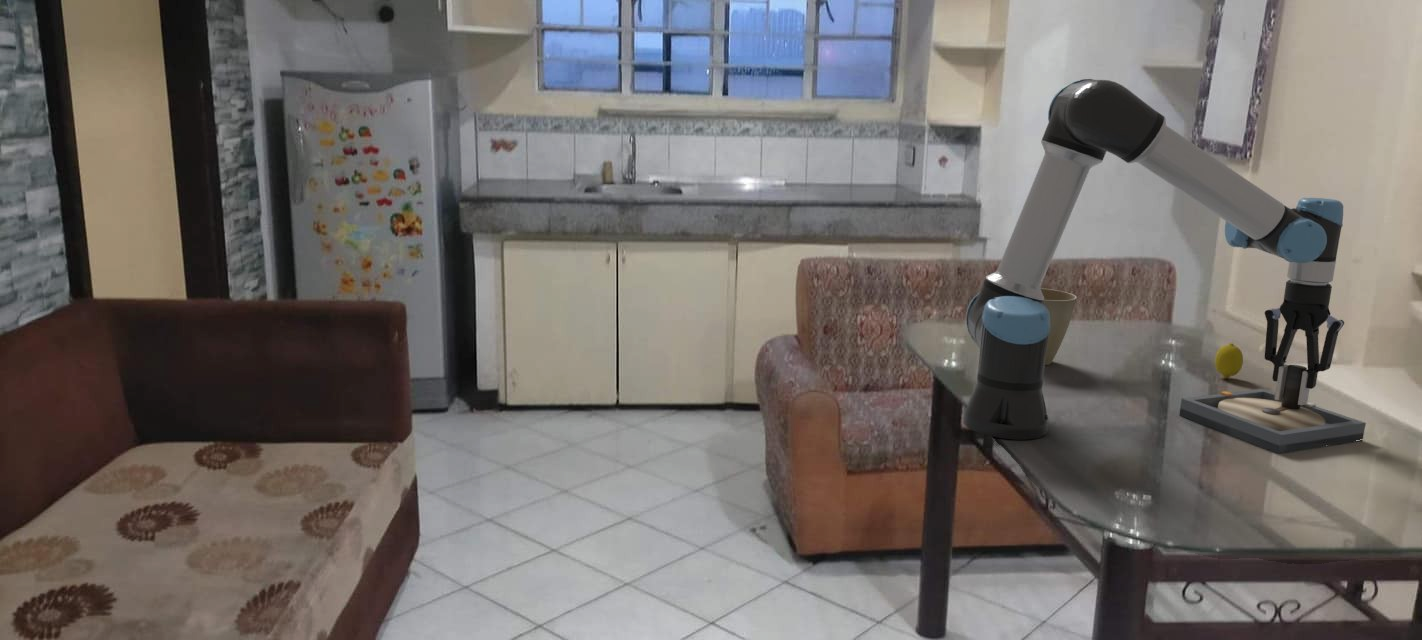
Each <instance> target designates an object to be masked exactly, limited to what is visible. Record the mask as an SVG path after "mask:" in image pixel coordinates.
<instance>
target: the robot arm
mask: <svg viewBox="0 0 1422 640" xmlns="http://www.w3.org/2000/svg"><path fill="white" fill-rule="evenodd" d="M1047 115H1048V116H1047V117H1048V123H1047V125H1046V127H1045V128H1046V129H1045V131H1044V133H1043V136H1042V139H1041V141H1040V142H1041V146H1042V148H1043V150H1044V156H1043V157H1042V161H1041V162H1040V165H1039V168H1038V169H1037V172H1036V175H1035V178H1034V180H1033V182H1032V185H1031V188H1030V189H1029V193H1028V195H1027V197H1026V200H1025V202H1024V204H1023V207H1022V209H1021V211H1020V214H1019V216H1018V219H1017V221H1016V224H1015V226H1014V228H1013V231H1012V233H1011V236H1010V239H1009V241H1008V244H1007V246H1006V248H1005V250H1004V253H1003V256H1002V258H1001V261H1000V262H999V265H998V267H997V270H996V271H995V272H992V273H991V274H987V275H986V276H985V279H984V281H983V283H982V285H981V288H980V290H979V292H978V293H977V294H976V295H974V297H973V298H972V299H971V301H970V302H969V304H968V306H967V310H966V314H965V317H966V318H965V321H966V328H967V331H968V334H969V335H970V338H971V339H972V340H973V342H974V343H975V344H976V345H977V346H978V348H979V355H978V366H977V377H976V383H975V386H974V389H973V390H972V393H971V395H970V398H969V401H968V402H967V403H968V404H967V405H966V406H965V408H964V410H963V418H962V419H963V420H962V421H963V424H964V426H966V428H968V429H969V430H972V431H974V432H976V433H978V434H981V435H985V436H988V437H993V438H996V439H997V438H998V439H1004V440H1021V441H1022V440H1023V441H1024V440H1033V439H1039V438H1042V437H1044V436H1046V435H1047V434H1048V431H1049V430H1048V429H1049V421H1050V420H1049V416H1048V414H1047V407H1046V402H1045V398H1044V392H1043V386H1044V385H1043V384H1044V378H1045V376H1044V375H1045V369H1046V365H1045V360H1046V352H1047V343H1048V334H1049V332H1050V314H1049V311H1048V309H1047V308H1046V307H1045V306H1044V305H1043V304H1042V302H1043V300H1044V296H1043V294H1042V291H1041V289H1040V288H1041V286H1042V283H1043V280H1044V278H1045V277H1046V274H1047V272H1048V269H1049V267H1050V265H1051V262H1052V260H1053V257H1054V255H1055V252H1056V251H1057V248H1058V246H1059V243H1060V241H1061V238H1062V236H1063V234H1064V232H1065V229H1066V226H1067V224H1068V222H1069V220H1070V217H1071V215H1072V212H1073V210H1074V208H1075V205H1076V203H1077V201H1078V198H1079V195H1080V193H1081V191H1082V189H1083V186H1084V184H1085V181H1086V179H1087V177H1088V174H1089V172H1090V170H1091V168H1093V167H1096V166H1097V165H1099V164H1101V163H1103V160H1104V158H1105V156H1106V153H1107V152H1108V153H1110V154H1112V155H1113V156H1116V157H1118V158H1120V159H1121V160H1123V161H1124V162H1125V163H1127V164H1133V163H1138V164H1139V165H1141V166H1143V168H1144V169H1147V170H1148V171H1150V172H1151V173H1153V175H1154V174H1155V175H1156V176H1158V177H1159V178H1161V180H1163V181H1165V182H1166V183H1168V184H1169V185H1171V186H1172V187H1174V188H1175V189H1177V190H1178V191H1180V192H1182V193H1183V194H1184V195H1186V196H1187V197H1189V198H1190V199H1192V200H1193V201H1195V202H1196V203H1198V204H1200V206H1203V207H1205V208H1206V209H1207V210H1209V211H1210V212H1212V213H1213V214H1215V215H1217V216H1218V217H1219V218H1221V219H1222V220H1224V221H1225V224H1224V236H1225V240H1226V242H1227V244H1228V245H1229V246H1230V247H1233V248H1242V249H1257V250H1260V251H1263V252H1264V253H1268V254H1270V255H1273V256H1277V257H1279V258H1282V259H1283V260H1285V261H1287V262H1288V269H1287V273H1286V274H1287V275H1286V276H1287V278H1288V280H1286V283H1285V288H1284V295H1283V302H1282V303H1281V304H1280V306H1279V307H1277V308H1270V309H1266V310H1265V311H1264V316H1265V319H1266V333H1265V334H1266V335H1265V344H1264V345H1265V347H1264V360H1265V361H1269V362H1270V363H1271V364H1273V372H1272V382H1273V381H1274V382H1276V386H1275V387H1276V389H1275V392H1274V393H1275V399H1276V400H1280V399H1282V398H1283V392H1284V386H1285V380H1286V374H1287V368H1288V365H1289V364H1285V363H1287V359H1288V356H1289V352H1290V350H1291V348H1292V345H1293V341H1294V339H1295V335H1296V334H1297V332H1298V330H1301V331H1304V334H1305V335H1304V336H1305V338H1306V359H1307V360H1306V362H1307V370H1306V371H1303V374H1302V380H1301V387H1300V393H1299V400H1298V405H1304V404H1306V403H1307V402H1309V395H1310V390H1312V389H1315V387H1316V386H1317V381H1318V380H1317V379H1318V373H1320V372H1325V371H1327V370H1329V369H1330V368H1331V365H1332V361H1333V357H1334V353H1335V349H1336V344H1337V341H1338V336H1339V332H1340V330H1341V329H1342V328H1343V326H1344V325H1345V321H1344V320H1343V319H1337V318H1335V317H1334V316H1332V315H1331V311H1330V309H1329V308H1330V307H1329V306H1330V300H1331V294H1332V284H1330V283H1331V282H1333V280H1334V275H1335V269H1336V264H1337V255H1338V249H1339V244H1340V237H1341V232H1342V227H1343V226H1344V225H1343V219H1344V204H1343V203H1342V202H1341V201H1340V200H1337V199H1333V198H1323V197H1302V198H1300V199H1299V200H1298V201H1297V205H1296V207H1295V208H1290V207H1288V206H1286V205H1284V204H1283V203H1282V202H1280V201H1279V200H1277V198H1275V197H1273V196H1272V195H1270V193H1269V194H1268V193H1267V192H1266V191H1264V190H1263V189H1262V188H1260V187H1258V186H1257V185H1255V184H1254V183H1252V182H1251V181H1250V180H1248V179H1246V178H1245V177H1244V176H1242V175H1241V174H1239V173H1238V172H1236V171H1235V170H1233V169H1232V168H1231V167H1228V166H1227V165H1226V164H1224V163H1223V162H1221V161H1220V160H1218V159H1217V158H1215V156H1212V155H1211V154H1209V153H1208V152H1206V151H1204V150H1203V149H1202V148H1201V147H1199V146H1197V145H1196V144H1194V143H1193V142H1191V141H1190V140H1188V139H1187V138H1186V137H1184V136H1182V135H1181V134H1180V133H1179V132H1176V131H1175V130H1174V129H1172V128H1171V127H1169V126H1168V125H1167V123H1166V117H1165V115H1162V114H1161V113H1160V112H1158V111H1157V110H1155V108H1153V107H1152V106H1150V105H1148V103H1146V102H1145V101H1144V100H1142V99H1141V98H1139V97H1138V96H1137V95H1136V94H1135V93H1133V92H1132V91H1131V90H1130V89H1128V88H1127V87H1125V86H1124V85H1122V84H1120V83H1118V82H1116V81H1112V80H1107V79H1092V78H1084V79H1082V78H1081V79H1079V80H1075V81H1072V82H1071V83H1069V84H1066V85H1065V86H1064V87H1062V88H1061V89H1060V90H1059V91H1057V93H1056V94H1055V95H1054V97H1053V98H1052V100H1051V102H1050V105H1049V108H1048V114H1047ZM1281 316H1282V317H1283V319H1284V320H1285V323H1286V324H1285V327H1284V330H1283V335H1282V338H1281V341H1280V344H1279V347H1278V338H1279V337H1278V335H1279V323H1280V322H1279V321H1280V318H1281ZM1325 322H1326V323H1327V324H1326V328H1327V331H1326V335H1325V339H1324V343H1323V347H1322V351H1321V356H1320V352H1319V349H1320V348H1319V334H1320V327H1321V326H1322V325H1323V324H1324V323H1325ZM1277 348H1278V349H1277Z"/></svg>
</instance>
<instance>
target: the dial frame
mask: <svg viewBox="0 0 1422 640" xmlns="http://www.w3.org/2000/svg"><path fill="white" fill-rule="evenodd" d="M1230 398H1257V399H1266V400H1273V401H1279V402H1282V399H1280V400H1276V399H1275V392H1273V391H1270V390H1268V389H1264V388H1258V389H1257V388H1256V389H1250V390H1241V391H1232V392H1229V391H1227V390H1226V391H1220V393H1217V394H1216V393H1215V394H1207V395H1200V396H1191V397H1183V398H1181V402H1180V408H1179V414H1178V415H1179V417H1181V418H1184V419H1187V420H1190V421H1193V422H1195V423H1197V424H1199V425H1200V424H1201V425H1203V426H1205V427H1208V428H1210V429H1213V430H1215V431H1218V432H1221V433H1223V434H1226V435H1229V436H1231V437H1234V438H1237V439H1239V440H1241V441H1244V442H1246V443H1249V444H1252V445H1255V446H1257V447H1259V448H1262V449H1265V450H1267V451H1270V452H1273V453H1275V454H1277V455H1279V454H1286V453H1290V452H1291V453H1292V452H1293V453H1294V452H1298V451H1304V449H1306V450H1312V449H1318V448H1324V447H1323V446H1325V447H1327V446H1326V445H1332V446H1337V445H1344V444H1345V445H1346V444H1350V443H1351V444H1352V443H1355V442H1354V441H1356V440H1360V439H1363V440H1364V436H1365V435H1364V434H1365V429H1366V424H1367V423H1366V422H1365V421H1362V420H1358V419H1355V418H1352V417H1349V416H1346V415H1343V414H1340V413H1337V412H1334V411H1332V410H1328V409H1325V408H1323V407H1319V406H1316V405H1317V404H1316V403H1313V402H1310V401H1308V402H1307V403H1306V404H1304V405H1301V406H1300V407H1303V408H1306V409H1309V410H1311V411H1313V412H1316V413H1317V414H1319V415H1321V416H1322V417H1323V418H1324V419H1325V425H1321V426H1314V427H1307V428H1300V429H1293V430H1286V431H1277V430H1274V429H1272V428H1269V427H1266V426H1264V425H1261V424H1258V423H1255V422H1253V421H1250V420H1247V419H1244V418H1242V417H1239V416H1236V415H1233V414H1231V413H1228V412H1225V411H1222V410H1220V409H1218V404H1219V402H1220V401H1222V400H1225V399H1230Z"/></svg>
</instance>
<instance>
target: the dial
mask: <svg viewBox="0 0 1422 640" xmlns="http://www.w3.org/2000/svg"><path fill="white" fill-rule="evenodd" d="M1287 365H1288V368H1287V374H1286V380H1285V386H1284V392H1283V398H1282V402H1279V401H1273V400H1266V399H1257V398H1230V399H1225V400H1222V401H1220V402H1219V404H1218V409H1220V410H1222V411H1225V412H1228V413H1231V414H1233V415H1236V416H1239V417H1242V418H1244V419H1247V420H1250V421H1253V422H1255V423H1258V424H1261V425H1264V426H1266V427H1269V428H1272V429H1274V430H1277V431H1286V430H1293V429H1300V428H1307V427H1314V426H1321V425H1325V419H1324V418H1323V417H1322V416H1321V415H1319V414H1317V413H1316V412H1313V411H1311V410H1309V409H1306V408H1303V407H1300V406H1301V405H1298V400H1299V393H1300V387H1301V380H1302V374H1303V371H1306V370H1307V369H1308V367H1306V366H1303V365H1299V364H1287Z"/></svg>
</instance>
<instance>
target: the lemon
mask: <svg viewBox="0 0 1422 640" xmlns="http://www.w3.org/2000/svg"><path fill="white" fill-rule="evenodd" d="M1243 364H1244V355H1243V352H1242V350H1241V349H1240V348H1239V347H1237V346H1236V345H1234V343H1229V344H1226V345H1223V346H1222V347H1220V348H1218V351H1217V353H1216V354H1215V357H1214V367H1215V369H1216V371H1217V372H1218V373H1219V374H1220V375H1221V376H1223V377H1224V379H1229V378H1230V377H1233V376H1236V375H1238V373H1239V372H1240V371H1241V369H1242V367H1243Z"/></svg>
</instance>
